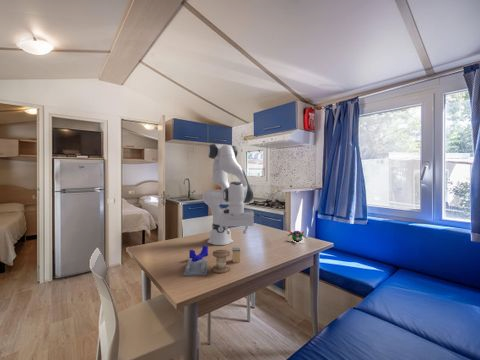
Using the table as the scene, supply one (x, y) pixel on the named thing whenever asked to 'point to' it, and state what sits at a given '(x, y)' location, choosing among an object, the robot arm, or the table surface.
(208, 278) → the table surface
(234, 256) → the grey and tan block
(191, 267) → the grey channel bracket
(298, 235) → the toy animal
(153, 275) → the table surface
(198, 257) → the blue curved block
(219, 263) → the door knob
